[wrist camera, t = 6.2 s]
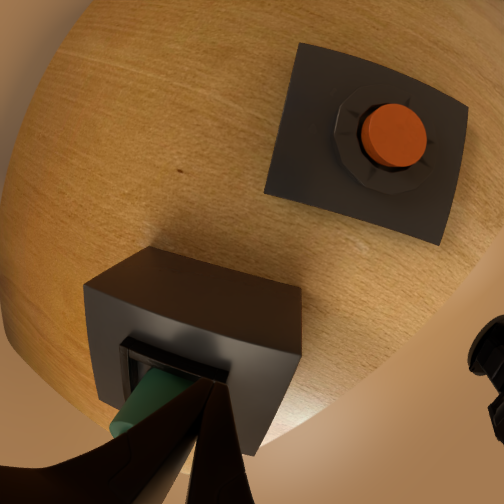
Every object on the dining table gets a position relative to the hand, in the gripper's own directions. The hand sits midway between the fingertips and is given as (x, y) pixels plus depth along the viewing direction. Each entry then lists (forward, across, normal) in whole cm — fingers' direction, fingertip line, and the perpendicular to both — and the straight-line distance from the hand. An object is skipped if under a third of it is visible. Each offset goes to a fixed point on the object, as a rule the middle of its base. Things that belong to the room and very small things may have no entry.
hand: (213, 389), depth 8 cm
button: (+9, -5, -10) cm, 14 cm away
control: (+12, -5, -10) cm, 17 cm away
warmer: (+12, +3, +6) cm, 14 cm away
